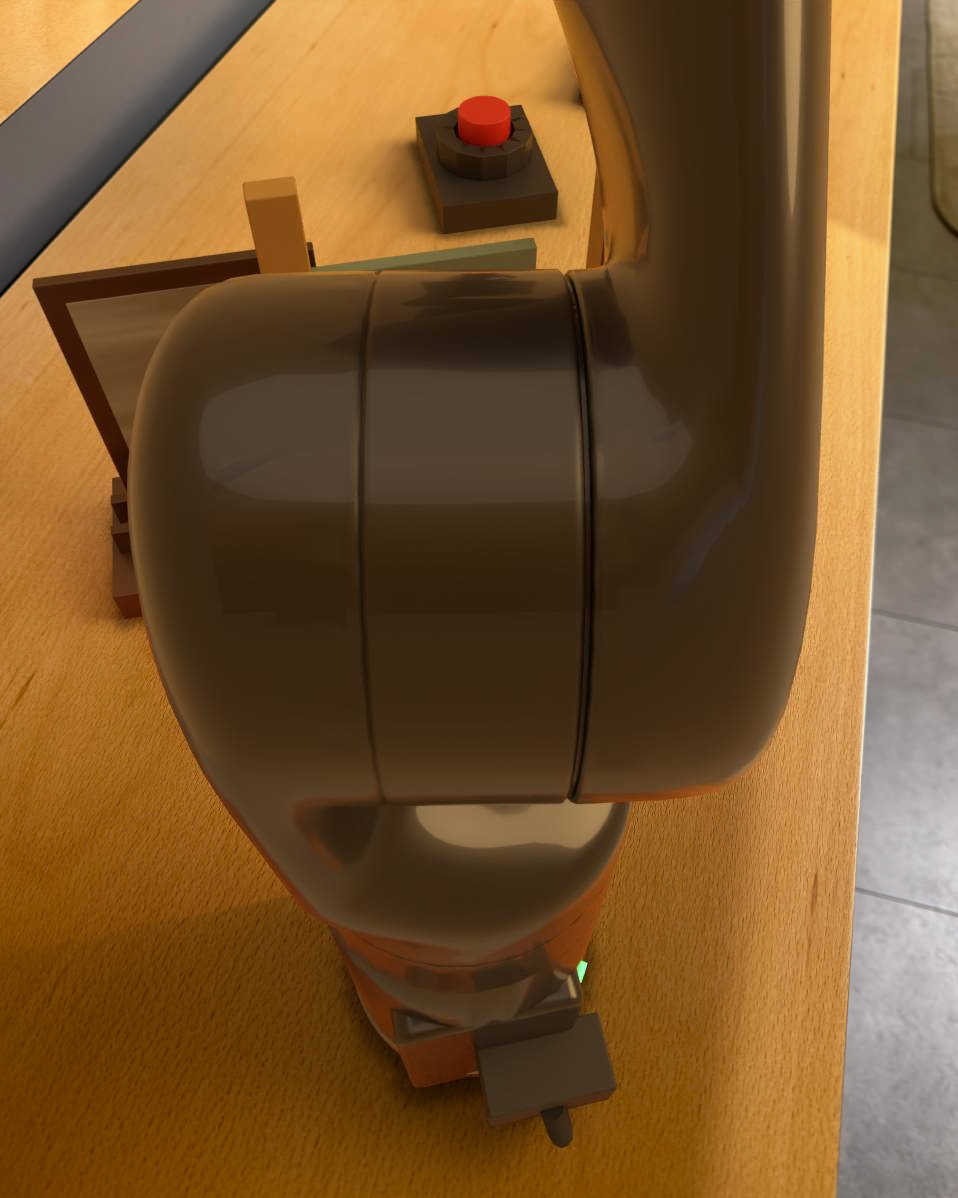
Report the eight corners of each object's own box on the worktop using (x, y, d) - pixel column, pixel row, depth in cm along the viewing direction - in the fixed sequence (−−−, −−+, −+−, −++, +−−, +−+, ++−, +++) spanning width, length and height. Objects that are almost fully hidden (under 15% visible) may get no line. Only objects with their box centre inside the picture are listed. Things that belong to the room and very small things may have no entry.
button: (515, 145, 68) (516, 120, 66) (463, 151, 67) (463, 127, 66) (503, 116, 70) (504, 92, 68) (453, 122, 69) (453, 98, 68)
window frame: (608, 536, 54) (665, 211, 37) (124, 619, 51) (-50, 307, 34) (571, 429, 58) (606, 96, 41) (122, 500, 55) (-33, 172, 39)
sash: (526, 471, 53) (544, 162, 38) (312, 506, 52) (244, 200, 37) (521, 455, 54) (536, 144, 39) (310, 489, 52) (241, 181, 38)
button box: (556, 219, 69) (560, 167, 66) (443, 234, 68) (441, 182, 65) (520, 132, 75) (522, 79, 72) (416, 144, 74) (413, 92, 71)
